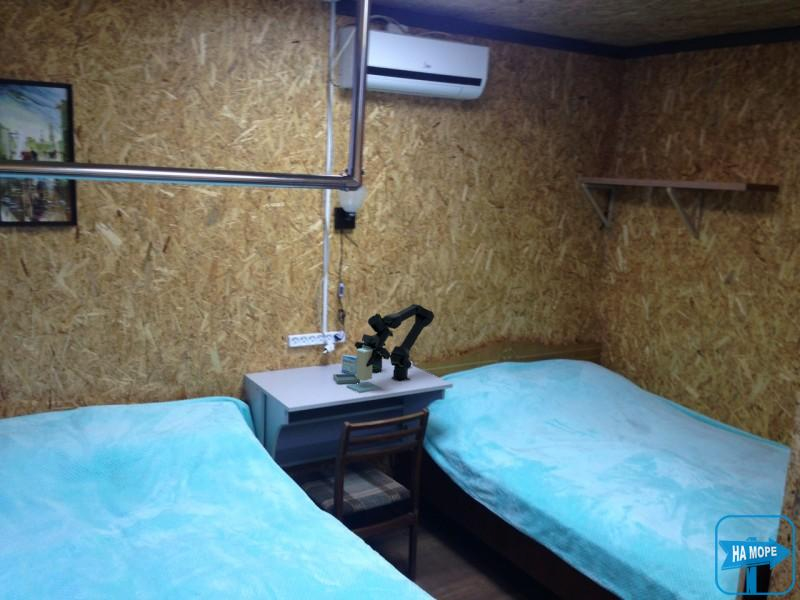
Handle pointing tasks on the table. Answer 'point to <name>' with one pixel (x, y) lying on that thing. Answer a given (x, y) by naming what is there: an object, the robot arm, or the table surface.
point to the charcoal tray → (346, 378)
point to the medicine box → (349, 364)
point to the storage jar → (376, 364)
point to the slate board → (363, 387)
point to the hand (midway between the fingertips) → (362, 365)
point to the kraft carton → (364, 364)
